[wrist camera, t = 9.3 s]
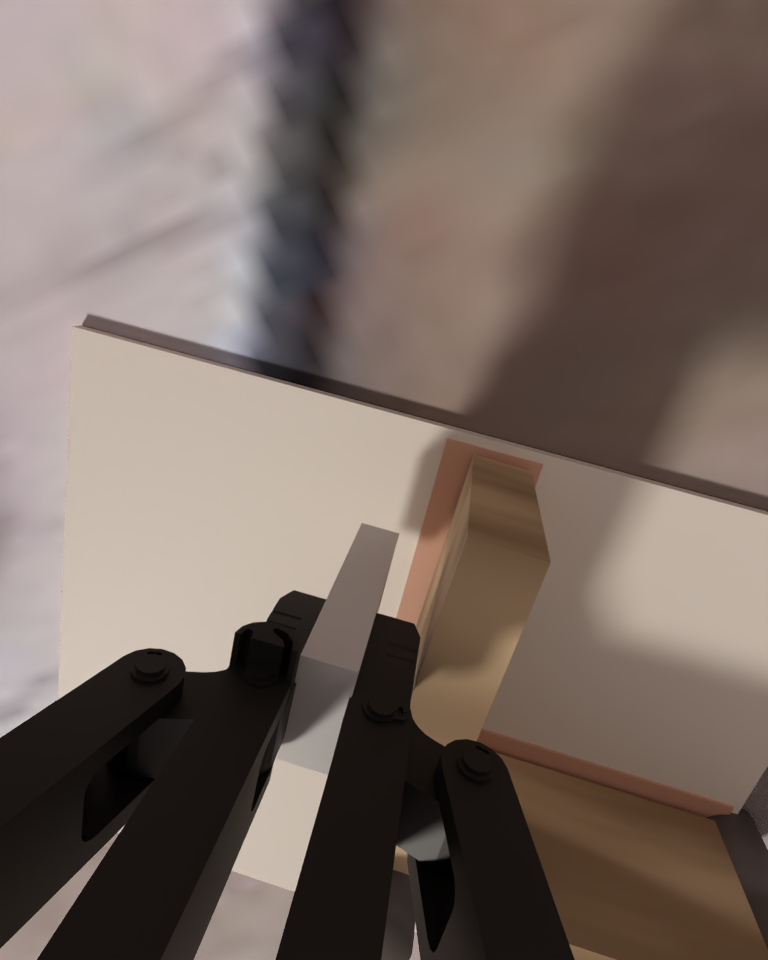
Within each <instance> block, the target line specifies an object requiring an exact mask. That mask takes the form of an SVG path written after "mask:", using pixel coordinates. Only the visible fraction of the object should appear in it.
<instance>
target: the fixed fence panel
mask: <svg viewBox="0 0 768 960" xmlns="http://www.w3.org/2000/svg"><path fill="white" fill-rule="evenodd" d="M497 754H498V753H497ZM498 755H499V756H500V757H501V758H502V760H503V761H504V763H505V765H506V767H507V769H508V771H509V773H510V776H511V779H512V782H513V785H514V788H515V791H516V793H517V796H518V799H519V802H520V805H521V808H522V811H523V813H524V816H525V819H526V822H527V825H528V828H529V831H530V833H531V836H532V839H533V842H534V845H535V848H536V851H537V853H538V856H539V859H540V862H541V865H542V868H543V871H544V873H545V876H546V879H547V882H548V885H549V888H550V891H551V893H552V896H553V899H554V902H555V905H556V908H557V911H558V913H559V916H560V919H561V922H562V925H563V928H564V931H565V933H566V936H567V939H568V942H569V945H570V948H571V951H572V953H573V956H574V959H575V960H768V850H767V848H766V846H765V843H764V841H763V839H762V837H761V835H760V833H759V831H758V829H757V827H756V825H755V823H754V821H753V819H752V817H751V816H750V815H749V813H747V812H746V811H745V810H743V809H742V808H741V810H740V811H739V813H738V814H735V813H731V814H730V815H725V814H723V815H714V816H710V817H707V818H705V817H702V816H699V815H695V814H692V813H689V812H686V811H682V810H679V809H676V808H673V807H670V806H666V805H663V804H660V803H657V802H653V801H650V800H647V799H644V798H640V797H637V796H634V795H631V794H628V793H624V792H621V791H618V790H615V789H611V788H608V787H605V786H602V785H599V784H595V783H592V782H589V781H586V780H582V779H579V778H576V777H573V776H569V775H566V774H563V773H560V772H557V771H553V770H550V769H547V768H544V767H540V766H537V765H534V764H531V763H527V762H524V761H521V760H518V759H515V758H511V757H508V756H505V755H502V754H498Z"/></svg>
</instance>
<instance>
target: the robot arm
mask: <svg viewBox="0 0 768 960" xmlns="http://www.w3.org/2000/svg"><path fill="white" fill-rule="evenodd" d="M398 537H399V533H396V532H392V531H389V530H386V529H382V528H378V527H375V526H371V525H368V524H364V523H362V524H361V526H360V528H359V530H358V532H357V534H356V537H355V539H354V541H353V543H352V545H351V547H350V549H349V552H348V554H347V556H346V558H345V560H344V562H343V565H342V567H341V569H340V571H339V573H338V575H337V578H336V580H335V582H334V584H333V586H332V588H331V590H330V593H329V595H328V597H327V599H323V598H320V597H316V596H313V595H309V594H306V593H302V592H299V591H295V590H293V591H291V592H290V593H288V594H286V595H284V596H283V597H281V598H280V599H279V600H278V602H277V604H276V605H275V607H274V609H273V611H272V612H271V614H270V615H269V617H268V618H267V621H266V622H253V623H250V624H247V625H244V626H242V627H241V628H240V629H238V630H237V631H236V632H235V635H234V641H233V646H232V652H231V658H230V664H229V667H228V668H227V669H226V670H222V671H217V672H189V671H186V667H185V665H184V662H183V660H182V659H181V658H180V657H178V656H177V655H176V654H175V653H173V652H170V651H167V650H164V649H155V648H147V649H141V650H136V651H133V652H131V653H129V654H127V655H125V656H123V657H122V658H120V659H119V660H117V661H116V662H114V663H112V664H111V665H109V666H108V667H106V668H105V669H103V670H102V671H100V672H99V673H97V674H96V675H94V676H93V677H91V678H90V679H88V680H87V681H85V682H84V683H82V684H81V685H79V686H78V687H76V688H75V689H73V690H72V691H70V692H69V693H67V694H66V695H64V696H63V697H61V698H60V699H58V700H57V701H55V702H54V703H52V704H51V705H49V706H48V707H46V708H45V709H43V710H42V711H40V712H39V713H37V714H36V715H34V716H33V717H31V718H30V719H28V720H27V721H25V722H24V723H22V724H21V725H19V726H18V727H16V728H15V729H13V730H12V731H10V732H9V733H7V734H6V735H4V736H3V737H1V738H0V948H1V947H2V946H3V945H4V944H5V943H6V942H7V941H8V940H9V939H10V938H11V937H12V936H13V935H14V934H15V933H16V932H17V931H18V930H19V929H20V928H21V927H22V926H23V925H24V924H25V923H26V922H28V921H29V920H30V919H31V918H32V917H33V916H34V915H35V914H36V913H37V912H38V911H39V910H40V909H41V908H42V907H43V906H44V905H45V904H46V903H47V902H48V901H49V900H50V899H51V898H52V897H53V896H54V895H55V894H56V893H57V892H58V891H59V890H60V889H61V888H62V887H63V886H64V885H65V884H66V883H67V882H68V881H69V880H70V879H71V878H72V877H73V876H74V875H75V874H76V873H77V872H78V871H79V870H80V869H81V868H82V867H83V866H84V865H85V864H86V863H87V862H88V861H89V860H90V859H91V858H92V857H93V856H94V855H95V854H96V853H97V852H98V851H99V850H100V849H101V848H102V847H103V846H104V845H105V844H106V843H107V842H108V841H109V840H110V839H111V838H112V837H113V836H114V835H115V834H116V833H117V832H118V831H119V830H120V829H121V828H122V827H123V826H124V825H125V826H124V827H123V829H122V830H121V832H120V833H119V835H118V837H117V838H116V840H115V841H114V843H113V844H112V846H111V847H110V849H109V850H108V852H107V853H106V855H105V856H104V858H103V859H102V861H101V863H100V864H99V866H98V867H97V869H96V870H95V872H94V873H93V875H92V876H91V878H90V879H89V881H88V882H87V884H86V885H85V887H84V889H83V890H82V892H81V893H80V895H79V896H78V898H77V899H76V901H75V902H74V904H73V905H72V907H71V908H70V910H69V911H68V913H67V915H66V916H65V918H64V919H63V921H62V922H61V924H60V925H59V927H58V928H57V930H56V931H55V933H54V934H53V936H52V937H51V939H50V941H49V942H48V944H47V945H46V947H45V948H44V950H43V951H42V953H41V954H40V956H39V957H38V959H37V960H194V957H195V955H196V953H197V950H198V948H199V946H200V943H201V941H202V939H203V936H204V934H205V931H206V929H207V927H208V924H209V922H210V920H211V917H212V915H213V913H214V910H215V908H216V906H217V903H218V901H219V899H220V896H221V894H222V892H223V889H224V887H225V885H226V882H227V880H228V877H229V875H230V873H231V870H232V868H233V866H234V863H235V861H236V859H237V856H238V854H239V852H240V849H241V847H242V845H243V842H244V840H245V838H246V835H247V833H248V831H249V828H250V826H251V823H252V821H253V819H254V816H255V814H256V812H257V809H258V807H259V805H260V802H261V800H262V798H263V795H264V793H265V791H266V788H267V786H268V784H269V781H270V777H271V773H272V768H273V764H274V761H275V758H276V756H277V753H278V751H279V754H278V758H277V759H279V760H282V761H285V762H289V763H292V764H295V765H297V766H300V767H304V768H307V769H310V770H314V771H317V772H320V773H323V774H327V775H328V777H327V780H326V784H325V787H324V791H323V794H322V798H321V802H320V805H319V809H318V812H317V816H316V819H315V823H314V826H313V830H312V833H311V837H310V840H309V844H308V847H307V851H306V854H305V858H304V862H303V865H302V869H301V872H300V876H299V879H298V883H297V886H296V890H295V893H294V897H293V900H292V904H291V907H290V911H289V914H288V918H287V921H286V925H285V929H284V932H283V936H282V939H281V943H280V946H279V950H278V953H277V957H276V960H381V958H382V950H383V942H384V935H385V927H386V919H387V912H388V904H389V896H390V889H391V881H392V873H393V866H394V858H395V850H396V846H398V847H399V848H401V849H402V850H404V851H405V852H407V865H408V872H409V879H410V886H411V894H412V901H413V908H414V915H415V922H416V930H417V937H418V944H419V951H420V958H421V960H575V959H574V956H573V953H572V951H571V948H570V945H569V942H568V939H567V936H566V933H565V931H564V928H563V925H562V922H561V919H560V916H559V913H558V911H557V908H556V905H555V902H554V899H553V896H552V893H551V891H550V888H549V885H548V882H547V879H546V876H545V873H544V871H543V868H542V865H541V862H540V859H539V856H538V853H537V851H536V848H535V845H534V842H533V839H532V836H531V833H530V831H529V828H528V825H527V822H526V819H525V816H524V813H523V811H522V808H521V805H520V802H519V799H518V796H517V793H516V791H515V788H514V785H513V782H512V779H511V776H510V773H509V771H508V769H507V767H506V765H505V763H504V761H503V760H502V758H501V757H500V756H499V755H498V754H497V753H496V752H495V751H493V750H492V749H491V748H489V747H487V746H486V745H484V744H482V743H480V742H477V741H473V740H469V739H460V740H454V741H452V742H450V743H449V744H447V745H446V746H443V745H442V744H440V743H438V742H437V741H435V740H433V739H432V738H430V737H429V736H428V735H426V734H425V733H424V732H423V731H422V730H421V729H420V728H419V727H418V726H417V724H416V723H415V721H414V720H413V717H412V713H411V710H410V703H411V697H412V690H413V684H414V677H415V671H416V663H417V658H418V651H419V645H420V635H419V633H418V631H417V628H416V626H415V624H414V623H411V622H407V621H404V620H400V619H397V618H393V617H390V616H386V615H383V614H379V613H378V611H379V607H380V603H381V600H382V596H383V592H384V589H385V585H386V581H387V577H388V574H389V570H390V566H391V563H392V559H393V555H394V552H395V548H396V544H397V541H398Z"/></svg>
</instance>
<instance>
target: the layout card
mask: <svg viewBox="0 0 768 960" xmlns="http://www.w3.org/2000/svg"><path fill="white" fill-rule="evenodd" d="M474 454H475V455H479V456H482V457H485V458H489V459H492V460H495V461H499V462H502V463H505V464H509V465H512V466H515V467H519V468H522V469H525V470H529V471H531V472H532V476H533V481H534V486H535V490H536V495H537V500H538V505H539V509H540V514H541V519H542V523H543V528H544V533H545V538H546V542H547V547H548V552H549V556H550V561H551V563H550V566H549V568H548V570H547V573H546V575H545V578H544V580H543V582H542V585H541V587H540V590H539V592H538V594H537V597H536V599H535V602H534V604H533V607H532V609H531V611H530V614H529V616H528V619H527V621H526V623H525V626H524V628H523V631H522V633H521V635H520V638H519V640H518V643H517V645H516V647H515V650H514V652H513V655H512V657H511V660H510V662H509V664H508V667H507V669H506V672H505V674H504V676H503V679H502V681H501V684H500V686H499V688H498V691H497V693H496V696H495V698H494V700H493V703H492V705H491V708H490V710H489V713H488V715H487V717H486V720H485V722H484V725H483V727H482V729H481V732H480V734H479V737H478V739H477V742H480V743H482V744H484V745H486V746H487V747H489V748H491V749H492V750H493V751H495V752H496V753H498V754H502V755H505V756H508V757H511V758H515V759H518V760H521V761H524V762H527V763H531V764H534V765H537V766H540V767H544V768H547V769H550V770H553V771H557V772H560V773H563V774H566V775H569V776H573V777H576V778H579V779H582V780H586V781H589V782H592V783H595V784H599V785H602V786H605V787H608V788H611V789H615V790H618V791H621V792H624V793H628V794H631V795H634V796H637V797H640V798H644V799H647V800H650V801H653V802H657V803H660V804H663V805H666V806H670V807H673V808H676V809H679V810H682V811H686V812H689V813H692V814H695V815H699V816H702V817H705V818H707V817H710V816H714V815H723V814H725V815H730V814H731V813H735V814H738V813H739V811H740V810H741V808H742V807H743V805H744V803H745V802H746V800H747V799H748V797H749V795H750V794H751V792H752V791H753V789H754V787H755V786H756V784H757V783H758V781H759V779H760V778H761V776H762V775H763V773H764V771H765V770H766V768H767V767H768V512H767V511H764V510H760V509H756V508H753V507H749V506H745V505H742V504H738V503H734V502H731V501H727V500H723V499H719V498H716V497H712V496H708V495H705V494H701V493H697V492H694V491H690V490H686V489H683V488H679V487H675V486H671V485H668V484H664V483H660V482H657V481H653V480H649V479H646V478H642V477H638V476H635V475H631V474H627V473H623V472H620V471H616V470H612V469H609V468H605V467H601V466H598V465H594V464H590V463H587V462H583V461H579V460H575V459H572V458H568V457H564V456H561V455H557V454H553V453H550V452H546V451H542V450H539V449H535V448H531V447H527V446H524V445H520V444H516V443H513V442H509V441H505V440H502V439H498V438H494V437H491V436H487V435H483V434H479V433H476V432H472V431H468V430H465V429H461V428H457V427H454V426H450V425H446V424H443V423H439V422H435V421H431V420H428V419H424V418H420V417H417V416H413V415H409V414H406V413H402V412H398V411H395V410H391V409H387V408H383V407H380V406H376V405H372V404H369V403H365V402H361V401H358V400H354V399H350V398H347V397H343V396H339V395H335V394H332V393H328V392H324V391H321V390H317V389H313V388H310V387H306V386H302V385H299V384H295V383H291V382H288V381H284V380H280V379H276V378H273V377H269V376H265V375H262V374H258V373H254V372H251V371H247V370H243V369H240V368H236V367H232V366H228V365H225V364H221V363H217V362H214V361H210V360H206V359H203V358H199V357H195V356H192V355H188V354H184V353H180V352H177V351H173V350H169V349H166V348H162V347H158V346H155V345H151V344H147V343H144V342H140V341H136V340H132V339H129V338H125V337H121V336H118V335H114V334H110V333H107V332H103V331H99V330H96V329H92V328H88V327H84V326H81V325H80V326H73V327H72V352H71V378H70V403H69V428H68V454H67V479H66V504H65V530H64V555H63V580H62V606H61V631H60V656H59V682H58V699H60V698H61V697H63V696H64V695H66V694H67V693H69V692H70V691H72V690H73V689H75V688H76V687H78V686H79V685H81V684H82V683H84V682H85V681H87V680H88V679H90V678H91V677H93V676H94V675H96V674H97V673H99V672H100V671H102V670H103V669H105V668H106V667H108V666H109V665H111V664H112V663H114V662H116V661H117V660H119V659H120V658H122V657H123V656H125V655H127V654H129V653H131V652H133V651H136V650H141V649H147V648H155V649H164V650H167V651H170V652H173V653H175V654H176V655H177V656H178V657H180V658H181V659H182V660H183V662H184V665H185V667H186V671H189V672H217V671H222V670H226V669H227V668H228V667H229V664H230V658H231V652H232V646H233V641H234V635H235V632H236V631H237V630H238V629H240V628H241V627H242V626H244V625H247V624H250V623H253V622H266V621H267V618H268V617H269V615H270V614H271V612H272V611H273V609H274V607H275V605H276V604H277V602H278V600H279V599H280V598H281V597H283V596H284V595H286V594H288V593H290V592H291V591H293V590H295V591H299V592H302V593H306V594H309V595H313V596H316V597H320V598H323V599H327V597H328V595H329V593H330V590H331V588H332V586H333V584H334V582H335V580H336V578H337V575H338V573H339V571H340V569H341V567H342V565H343V562H344V560H345V558H346V556H347V554H348V552H349V549H350V547H351V545H352V543H353V541H354V539H355V537H356V534H357V532H358V530H359V528H360V526H361V524H362V523H364V524H368V525H371V526H375V527H378V528H382V529H386V530H389V531H392V532H396V533H399V537H398V541H397V544H396V548H395V552H394V555H393V559H392V563H391V566H390V570H389V574H388V577H387V581H386V585H385V589H384V592H383V596H382V600H381V603H380V607H379V611H378V613H379V614H383V615H386V616H390V617H393V618H397V619H400V620H404V621H407V622H411V623H414V624H415V626H416V625H417V622H418V619H419V616H420V613H421V610H422V607H423V604H424V601H425V598H426V595H427V592H428V590H429V587H430V584H431V581H432V578H433V575H434V572H435V569H436V566H437V563H438V560H439V557H440V554H441V551H442V548H443V545H444V542H445V539H446V536H447V533H448V530H449V527H450V524H451V521H452V518H453V515H454V512H455V509H456V506H457V503H458V500H459V497H460V494H461V491H462V488H463V485H464V482H465V479H466V476H467V473H468V470H469V467H470V464H471V461H472V458H473V455H474ZM278 754H279V751H278V753H277V756H276V758H275V761H274V764H273V768H272V773H271V777H270V781H269V784H268V786H267V788H266V791H265V793H264V795H263V798H262V800H261V802H260V805H259V807H258V809H257V812H256V814H255V816H254V819H253V821H252V823H251V826H250V828H249V831H248V833H247V835H246V838H245V840H244V842H243V845H242V847H241V849H240V852H239V854H238V856H237V859H236V861H235V863H234V866H233V868H232V870H231V871H234V872H237V873H240V874H243V875H246V876H249V877H252V878H255V879H258V880H261V881H264V882H267V883H270V884H273V885H276V886H279V887H282V888H285V889H287V890H290V891H293V892H295V890H296V886H297V883H298V879H299V876H300V872H301V869H302V865H303V862H304V858H305V854H306V851H307V847H308V844H309V840H310V837H311V833H312V830H313V826H314V823H315V819H316V816H317V812H318V809H319V805H320V802H321V798H322V794H323V791H324V787H325V784H326V780H327V777H328V775H327V774H323V773H320V772H317V771H314V770H310V769H307V768H304V767H300V766H297V765H295V764H292V763H289V762H285V761H282V760H279V759H277V758H278ZM124 826H125V825H124ZM124 826H123V827H124ZM123 827H122V828H121V829H120V830H119V831H118V833H120V832H121V830H122V829H123ZM414 932H416V933H417V930H416V922H415V930H414Z"/></svg>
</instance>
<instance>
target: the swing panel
mask: <svg viewBox="0 0 768 960" xmlns="http://www.w3.org/2000/svg"><path fill="white" fill-rule="evenodd" d="M550 563H551V561H550V556H549V552H548V547H547V542H546V538H545V533H544V528H543V523H542V519H541V514H540V509H539V505H538V500H537V495H536V490H535V486H534V481H533V476H532V472H531V471H529V470H525V469H522V468H519V467H515V466H512V465H509V464H505V463H502V462H499V461H495V460H492V459H489V458H485V457H482V456H479V455H475V454H474V455H473V458H472V461H471V464H470V467H469V470H468V473H467V476H466V479H465V482H464V485H463V488H462V491H461V494H460V497H459V500H458V503H457V506H456V509H455V512H454V515H453V518H452V521H451V524H450V527H449V530H448V533H447V536H446V539H445V542H444V545H443V548H442V551H441V554H440V557H439V560H438V563H437V566H436V569H435V572H434V575H433V578H432V581H431V584H430V587H429V590H428V592H427V595H426V598H425V601H424V604H423V607H422V610H421V613H420V616H419V619H418V622H417V625H416V628H417V631H418V633H419V635H420V645H419V651H418V658H417V663H416V671H415V677H414V684H413V690H412V697H411V703H410V710H411V713H412V717H413V720H414V721H415V723H416V724H417V726H418V727H419V728H420V729H421V730H422V731H423V732H424V733H425V734H426V735H428V736H429V737H430V738H432V739H433V740H435V741H437V742H438V743H440V744H442V745H443V746H446V745H447V744H449V743H450V742H452V741H454V740H460V739H469V740H473V741H477V739H478V737H479V734H480V732H481V729H482V727H483V725H484V722H485V720H486V717H487V715H488V713H489V710H490V708H491V705H492V703H493V700H494V698H495V696H496V693H497V691H498V688H499V686H500V684H501V681H502V679H503V676H504V674H505V672H506V669H507V667H508V664H509V662H510V660H511V657H512V655H513V652H514V650H515V647H516V645H517V643H518V640H519V638H520V635H521V633H522V631H523V628H524V626H525V623H526V621H527V619H528V616H529V614H530V611H531V609H532V607H533V604H534V602H535V599H536V597H537V594H538V592H539V590H540V587H541V585H542V582H543V580H544V578H545V575H546V573H547V570H548V568H549V566H550ZM414 930H415V915H414V908H413V901H412V894H411V886H410V879H409V872H408V865H407V852H405V851H404V850H402V849H401V848H399V847H398V846H396V850H395V858H394V866H393V873H392V881H391V889H390V896H389V904H388V912H387V919H386V927H385V935H384V942H383V950H382V958H381V960H409V959H410V957H411V954H412V948H413V939H414Z"/></svg>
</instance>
